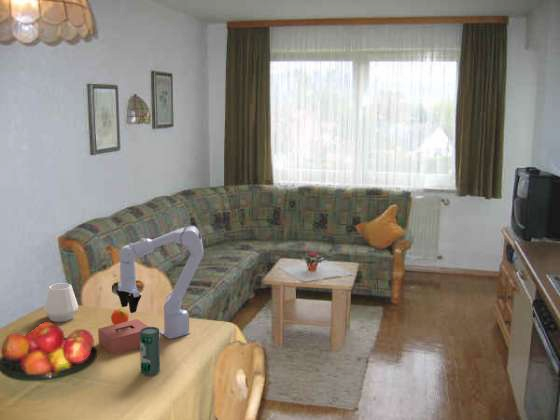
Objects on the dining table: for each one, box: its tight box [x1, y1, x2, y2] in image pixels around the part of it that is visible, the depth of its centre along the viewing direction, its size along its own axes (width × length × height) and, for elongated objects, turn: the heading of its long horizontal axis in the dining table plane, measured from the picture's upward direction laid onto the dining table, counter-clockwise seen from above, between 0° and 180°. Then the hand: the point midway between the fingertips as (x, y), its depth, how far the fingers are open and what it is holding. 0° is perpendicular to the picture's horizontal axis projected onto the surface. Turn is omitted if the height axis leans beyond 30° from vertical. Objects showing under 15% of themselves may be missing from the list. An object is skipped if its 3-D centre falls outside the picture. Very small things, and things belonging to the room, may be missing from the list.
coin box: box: [97, 318, 149, 355], centre depth 214 cm, size 16×12×6 cm
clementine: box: [110, 308, 130, 325], centre depth 231 cm, size 8×7×7 cm
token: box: [117, 327, 131, 332], centre depth 214 cm, size 5×2×5 cm, turn 128°
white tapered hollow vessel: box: [43, 282, 79, 323], centre depth 237 cm, size 13×13×14 cm
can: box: [139, 326, 161, 377], centre depth 192 cm, size 6×6×15 cm
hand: (128, 309), depth 221 cm, fingers open, 7 cm apart
